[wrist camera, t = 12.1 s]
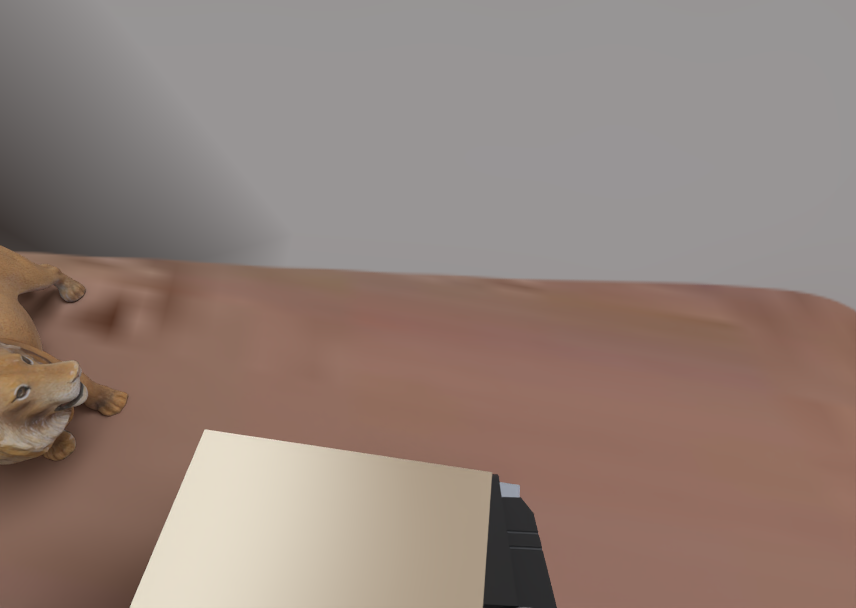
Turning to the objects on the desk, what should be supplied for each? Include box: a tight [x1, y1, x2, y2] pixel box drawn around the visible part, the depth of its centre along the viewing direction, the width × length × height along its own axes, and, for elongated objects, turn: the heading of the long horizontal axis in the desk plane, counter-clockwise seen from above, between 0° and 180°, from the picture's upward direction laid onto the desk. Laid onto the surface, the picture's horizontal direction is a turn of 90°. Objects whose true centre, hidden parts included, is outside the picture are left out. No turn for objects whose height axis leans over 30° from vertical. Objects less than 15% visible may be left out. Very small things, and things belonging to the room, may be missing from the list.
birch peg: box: [130, 430, 492, 608], centre depth 9 cm, size 4×4×11 cm
